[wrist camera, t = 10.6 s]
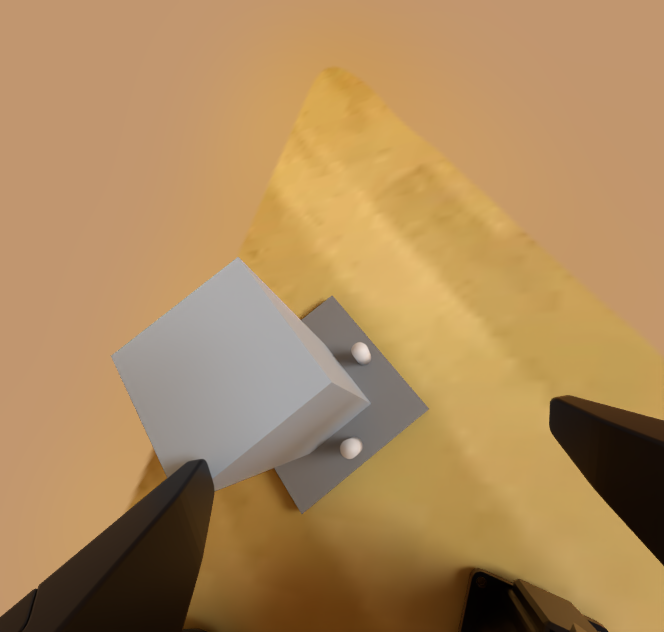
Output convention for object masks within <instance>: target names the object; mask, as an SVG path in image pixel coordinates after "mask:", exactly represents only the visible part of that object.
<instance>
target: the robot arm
mask: <svg viewBox="0 0 664 632" xmlns="http://www.w3.org/2000/svg"><path fill="white" fill-rule="evenodd" d="M549 427H550V430H551V433H552V434H553V436H554V437H555V439H556V440H557V441H558V443H559V444H560V445H561V446H562V448H563V449H564V450H565V452H566V453H567V454H568V456H569V457H570V458H571V460H572V461H573V462H574V463H575V465H576V466H577V467H578V469H579V470H580V471H581V473H582V474H583V475H584V477H585V478H586V479H587V480H588V482H589V483H590V484H591V485H592V487H593V488H594V489H595V490H596V491H597V493H598V494H599V495H600V496H601V497H602V498H603V499H604V501H605V502H606V503H607V504H608V505H609V506H610V507H611V508H612V509H613V510H614V512H615V513H616V514H617V515H618V516H619V517H620V518H621V519H622V520H623V521H624V523H625V524H626V525H627V526H628V527H629V528H630V529H631V530H632V531H633V532H634V534H635V535H636V536H637V537H638V538H639V539H640V540H641V541H642V542H643V543H644V545H645V546H646V547H647V548H648V549H649V550H650V551H651V552H652V553H653V555H654V556H655V557H656V558H657V559H658V560H659V561H660V562H661V563H662V564H663V566H664V421H663V420H660V419H656V418H652V417H649V416H645V415H641V414H637V413H634V412H630V411H626V410H622V409H619V408H615V407H611V406H608V405H604V404H600V403H596V402H593V401H589V400H585V399H581V398H578V397H574V396H570V395H566V396H560V397H554V398H553V399H552V400H551V401H550V417H549ZM214 491H215V490H214V483H213V480H212V476H211V473H210V470H209V467H208V464H207V462H206V460H205V459H197V460H191V461H188V462H186V463H185V464H184V465H183V466H181V467H180V468H179V469H178V470H177V471H175V472H174V473H173V474H172V475H171V476H169V477H168V478H167V479H166V480H165V481H163V482H162V483H161V484H160V485H159V486H157V487H156V488H155V489H154V490H153V491H151V492H150V493H149V494H148V495H147V496H145V497H144V498H143V499H142V500H141V501H139V502H138V503H137V504H136V505H135V506H133V507H132V508H131V509H130V510H129V511H127V512H126V513H125V514H124V515H123V516H121V517H120V518H119V519H118V520H117V521H115V522H114V523H113V524H112V525H111V526H109V527H108V528H107V529H106V530H105V531H103V532H102V533H101V534H100V535H98V536H97V537H96V538H95V539H94V540H93V541H91V542H90V543H89V544H88V545H87V546H85V547H84V548H83V549H82V550H80V551H79V552H78V553H77V554H76V555H74V556H73V557H72V558H71V559H70V560H68V561H67V562H66V563H65V564H64V565H63V566H61V567H60V568H59V569H58V570H57V571H55V572H54V573H53V574H52V575H50V576H49V577H48V578H47V579H46V580H44V582H42V583H41V584H40V585H39V586H38V589H34V590H32V591H31V592H30V593H29V594H27V596H25V597H24V598H23V599H22V600H20V601H19V602H18V603H17V604H16V605H14V606H13V607H12V608H11V609H10V610H8V611H7V612H6V613H5V614H4V615H2V616H1V617H0V632H182V630H183V626H184V623H185V619H186V616H187V612H188V609H189V605H190V602H191V598H192V595H193V591H194V588H195V584H196V580H197V577H198V573H199V570H200V566H201V562H202V558H203V553H204V548H205V543H206V537H207V532H208V526H209V521H210V515H211V510H212V504H213V499H214ZM479 577H483V578H484V579H485V582H484V584H482V585H480V584H478V583H477V578H479ZM598 631H599V632H608V631H607V629H606V628H605V627H604V626H603V625H602V624H600V623H599V622H597V621H595V620H593V619H591V618H588V617H586V616H584V615H582V614H581V613H580V612H579V611H578V610H577V609H576V608H575V607H574V605H573V604H572V603H571V602H569V601H567V600H565V599H563V598H561V597H558V596H556V595H554V594H552V593H549V592H547V591H545V590H543V589H541V588H538V587H536V586H534V585H532V584H529V583H527V582H525V581H523V580H521V579H517V580H514V582H513V583H512V582H509V581H507V580H505V579H503V578H501V577H498V576H496V575H494V574H492V573H490V572H487V571H485V570H483V569H480V568H476V569H474V570H473V571H472V572H471V574H470V579H469V583H468V588H467V593H466V598H465V602H464V607H463V612H462V616H461V621H460V626H459V631H458V632H598Z"/></svg>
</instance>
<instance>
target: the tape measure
mask: <svg viewBox="0 0 664 632" xmlns="http://www.w3.org/2000/svg"><path fill="white" fill-rule="evenodd" d="M182 632H207V631H204V630H201V629H184V630H182Z"/></svg>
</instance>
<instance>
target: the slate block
mask: <svg viewBox="0 0 664 632" xmlns="http://www.w3.org/2000/svg"><path fill="white" fill-rule="evenodd" d="M111 357H112V359H113V361H114V364H115V365H116V368H117V370H118V372H119V374H120V376H121V379H122V381H123V383H124V385H125V387H126V389H127V391H128V394H129V396H130V398H131V400H132V403H133V405H134V407H135V409H136V411H137V413H138V415H139V418H140V420H141V422H142V424H143V426H144V428H145V430H146V433H147V435H148V437H149V439H150V441H151V444H152V446H153V448H154V450H155V452H156V454H157V457H158V459H159V461H160V463H161V465H162V467H163V470H164V472H165V474H166V476H167V478H168V477H169V476H171V475H172V474H173V473H174V472H175V471H177V470H178V469H179V468H180V467H181V466H183V465H184V464H185V463H186V462H188V461H191V460H197V459H205V460H206V462H207V464H208V467H209V470H210V473H211V476H212V480H213V483H214V490H215V491H217V490H220V489H222V488H225V487H227V486H230V485H232V484H235V483H237V482H240V481H242V480H245V479H247V478H250V477H252V476H255V475H257V474H260V473H262V472H265V471H267V470H270V469H273V468H275V467H278V466H280V465H283V464H285V463H288V462H290V461H293V460H295V459H298V458H300V457H303V456H305V455H308V454H310V453H311V452H313V451H314V450H315V449H316V448H317V447H319V446H320V445H321V444H322V443H324V442H325V441H326V440H327V439H328V438H330V437H331V436H332V435H333V434H335V433H336V432H337V431H338V430H339V429H341V428H342V427H343V426H344V425H346V424H347V423H348V422H349V421H350V420H352V419H353V418H354V417H355V416H357V415H358V414H359V413H360V412H361V411H363V410H364V409H365V408H366V407H368V406H369V405H370V404H371V403H370V402H369V400H368V399H367V398H366V396H365V395H364V394H363V393H362V391H361V390H360V389H359V387H358V386H357V385H356V384H355V382H354V381H353V380H352V378H351V377H350V376H349V375H348V373H347V372H346V371H345V369H344V368H343V367H342V366H341V364H340V363H339V362H338V360H337V359H336V358H335V357H334V355H333V354H332V353H331V352H330V350H329V349H328V348H327V346H326V345H325V344H324V343H323V342H322V341H321V340H320V339H319V338H318V337H317V336H316V335H315V334H314V333H313V332H312V331H311V330H310V329H309V328H308V327H307V326H306V325H305V324H304V323H303V322H302V321H301V320H300V319H299V318H298V317H297V316H296V315H295V314H294V313H293V312H292V311H291V310H290V309H289V308H288V307H287V306H286V305H285V304H284V303H283V302H282V301H281V300H280V299H279V298H278V297H277V296H276V295H275V294H274V293H273V292H272V291H271V290H270V289H269V288H268V286H267V285H266V284H265V283H264V282H263V281H262V280H261V279H260V278H259V277H258V276H257V275H256V274H255V273H254V272H253V271H252V270H251V269H250V268H249V267H248V266H247V265H246V264H245V263H244V262H243V261H242V260H241V259H240V258H239V257H237V258H236V259H235V260H233V261H232V262H231V263H230V264H228V265H227V266H226V267H224V268H223V269H222V270H221V271H219V272H218V273H217V274H216V275H214V276H213V277H212V278H210V279H209V280H208V281H207V282H205V283H204V284H203V285H201V286H200V287H199V288H198V289H196V290H195V291H194V292H193V293H191V294H190V295H189V296H187V297H186V298H185V299H184V300H182V301H181V302H180V303H178V304H177V305H176V306H175V307H173V308H172V309H171V310H169V311H168V312H167V313H166V314H164V315H163V316H162V317H161V318H159V319H158V320H157V321H155V322H154V323H153V324H151V325H150V326H149V327H148V328H146V329H145V330H144V331H142V332H141V333H140V334H139V335H137V336H136V337H135V338H134V339H132V340H131V341H130V342H128V343H127V344H126V345H124V346H123V347H122V348H121V349H119V350H118V351H117V352H116V353H114V354H113V355H112V356H111Z"/></svg>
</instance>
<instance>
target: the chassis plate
mask: <svg viewBox="0 0 664 632" xmlns="http://www.w3.org/2000/svg"><path fill="white" fill-rule="evenodd" d="M301 321H302V322H303V323H304V324H305V325H306V326H307V327H308V328H309V329H310V330H311V331H312V332H313V333H314V334H315V335H316V336H317V337H318V338H319V339H320V340H321V341H322V342H323V343H324V344H325V345H326V346H327V348H328V349H329V350H330V352H331V353H332V354H333V355H334V357H335V358H336V359H337V360H338V362H339V363H340V364H341V366H342V367H343V368H344V369H345V371H346V372H347V373H348V375H349V376H350V377H351V378H352V380H353V381H354V382H355V384H356V385H357V386H358V387H359V389H360V390H361V391H362V393H363V394H364V395H365V396H366V398H367V399H368V400H369V402H370V403H371V404H370V405H369V406H368V407H366V408H365V409H364V410H363V411H361V412H360V413H359V414H358V415H357V416H355V417H354V418H353V419H352V420H350V421H349V422H348V423H347V424H346V425H344V426H343V427H342V428H341V429H339V430H338V431H337V432H336V433H335V434H333V435H332V436H331V437H330V438H328V439H327V440H326V441H325V442H324V443H322V444H321V445H320V446H319V447H317V448H316V449H315V450H314V451H313V452H311V453H310V454H308V455H305V456H303V457H300V458H298V459H295V460H293V461H290V462H288V463H285V464H283V465H280V466H278V467H275V468H274V469H275V470H276V472H277V474H278V475H279V477H280V479H281V480H282V482H283V484H284V485H285V487H286V489H287V490H288V492H289V494H290V495H291V497H292V499H293V500H294V502H295V504H296V505H297V507H298V509H299V510H300V512H301V514H303V513H304V512H305V511H306V510H308V509H309V508H310V507H311V506H312V505H314V504H315V503H316V502H317V501H318V500H320V499H321V498H322V497H323V496H324V495H326V494H327V493H328V492H329V491H331V490H332V489H333V488H334V487H335V486H337V485H338V484H339V483H340V482H341V481H343V480H344V479H345V478H346V477H347V476H349V475H350V474H351V473H352V472H353V471H355V470H356V469H357V468H358V467H359V466H361V465H362V464H363V463H364V462H366V461H367V460H368V459H369V458H370V457H372V456H373V455H374V454H375V453H376V452H378V451H379V450H380V449H381V448H382V447H384V446H385V445H386V444H387V443H388V442H390V441H391V440H392V439H393V438H394V437H396V436H397V435H398V434H399V433H401V432H402V431H403V430H404V429H405V428H407V427H408V426H409V425H410V424H411V423H413V422H414V421H415V420H416V419H417V418H419V417H420V416H421V415H422V414H423V413H425V412H426V411H427V410H428V409H429V408H428V407H427V406H426V405H425V404H424V403H423V401H422V400H421V399H420V398H419V397H418V395H417V394H416V393H415V392H414V391H413V390H412V388H411V387H410V386H409V385H408V384H407V383H406V381H405V380H404V379H403V378H402V377H401V376H400V374H399V373H398V372H397V371H396V370H395V369H394V367H393V366H392V365H391V364H390V363H389V361H388V360H387V359H386V358H385V357H384V356H383V354H382V353H381V352H380V351H379V350H378V349H377V347H376V346H375V345H374V344H373V343H372V342H371V340H370V339H369V338H368V337H367V336H366V335H365V333H364V332H363V331H362V330H361V329H360V327H359V326H358V325H357V324H356V323H355V322H354V320H353V319H352V318H351V317H350V316H349V315H348V313H347V312H346V311H345V310H344V309H343V308H342V306H341V305H340V304H339V303H338V302H337V301H336V299H335V298H334V297H333V296H331V297H329V298H328V299H327V300H326V301H324V302H323V303H322V304H321V305H319V306H318V307H317V308H316V309H314V310H313V311H312V312H311V313H309V314H308V315H307V316H306V317H304V318H303V319H302V320H301Z"/></svg>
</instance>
